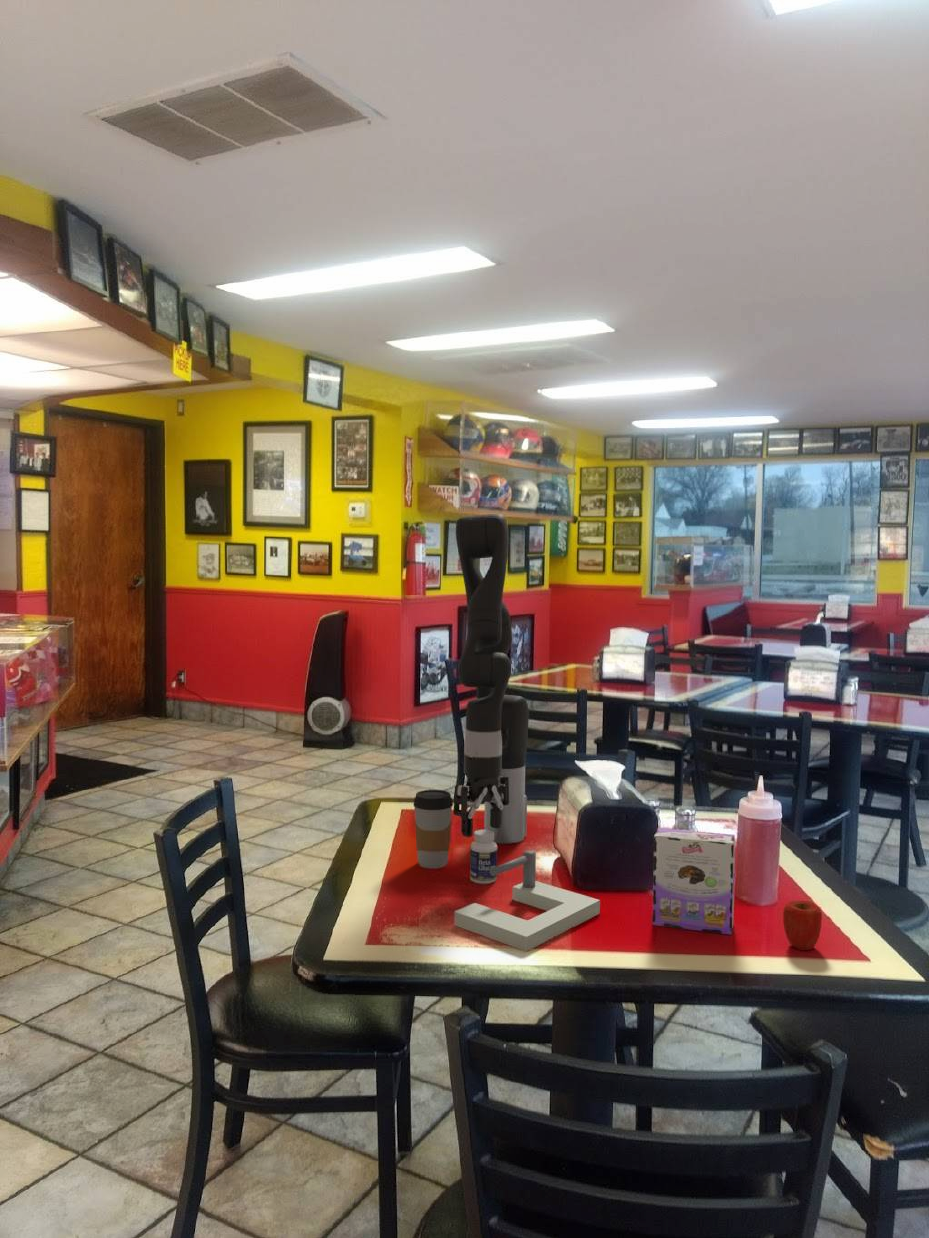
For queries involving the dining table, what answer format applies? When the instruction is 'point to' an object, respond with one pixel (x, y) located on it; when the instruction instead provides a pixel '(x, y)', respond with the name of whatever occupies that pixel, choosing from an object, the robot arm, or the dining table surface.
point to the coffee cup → (433, 827)
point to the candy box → (694, 880)
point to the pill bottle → (483, 857)
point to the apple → (802, 924)
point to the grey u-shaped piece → (558, 903)
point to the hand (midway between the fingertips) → (481, 831)
